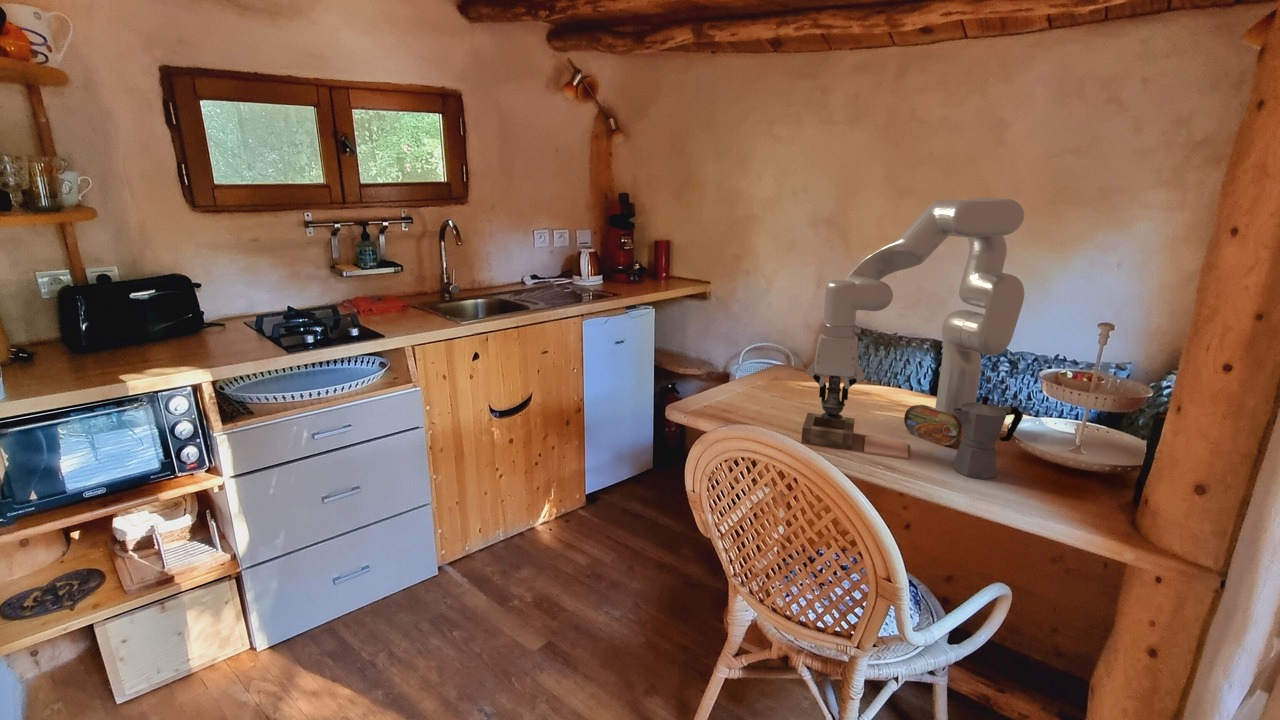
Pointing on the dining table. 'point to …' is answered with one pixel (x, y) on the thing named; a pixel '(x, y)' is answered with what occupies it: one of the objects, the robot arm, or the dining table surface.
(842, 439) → the socket block
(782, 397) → the dining table surface
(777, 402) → the dining table surface
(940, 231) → the robot arm
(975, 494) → the dining table surface
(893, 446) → the terracotta tile
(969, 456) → the coffeepot
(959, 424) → the tin
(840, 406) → the salt shaker
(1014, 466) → the dining table surface
